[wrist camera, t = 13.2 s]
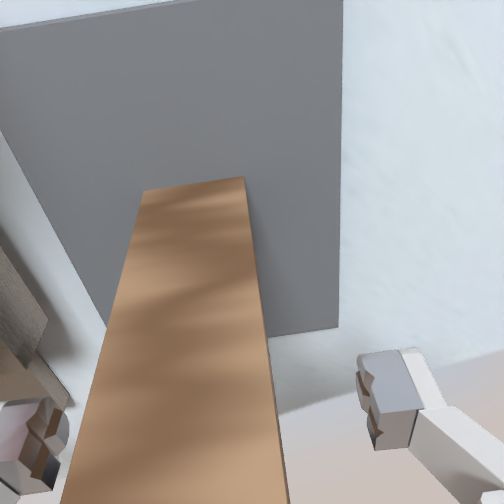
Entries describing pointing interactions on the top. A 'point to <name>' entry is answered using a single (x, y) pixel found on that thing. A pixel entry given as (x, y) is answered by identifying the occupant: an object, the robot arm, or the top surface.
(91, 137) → the mat
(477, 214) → the top surface
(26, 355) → the ring stand
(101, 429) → the walnut link block
